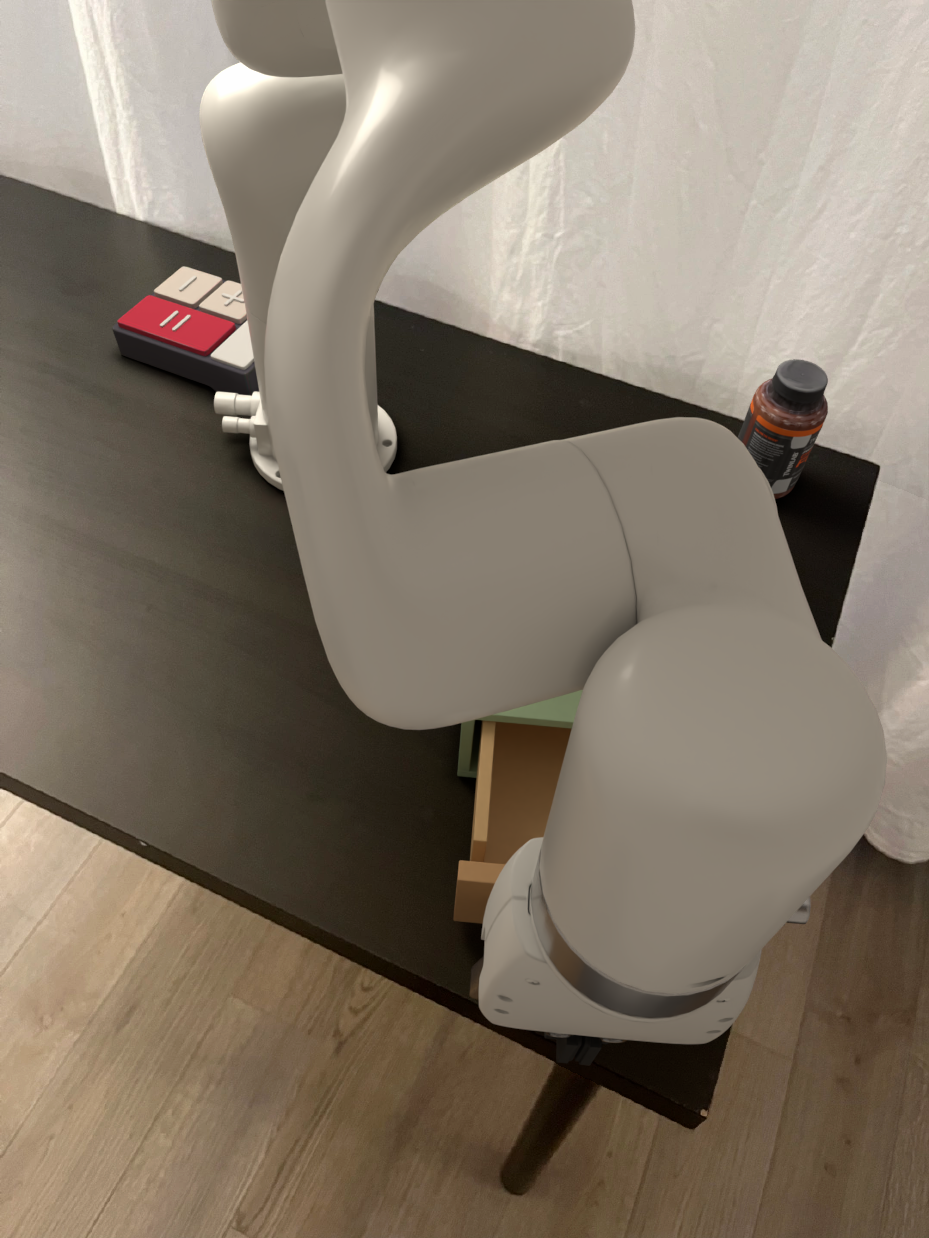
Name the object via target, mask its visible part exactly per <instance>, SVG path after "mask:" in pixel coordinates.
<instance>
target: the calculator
mask: <svg viewBox="0 0 929 1238" xmlns="http://www.w3.org/2000/svg"><path fill="white" fill-rule="evenodd" d="M111 328H112V332H113V335H114V339H115V341H116V344H117V347H118V350H119V352H120V355H121V356H124V357H127V358H129V359H132V360H134V361H138V362H141V363H143V364H146V365H149V366H152V367H155V368H158V369H159V370H163V371H165V372H169V373H171V374H174V375H177V376H180V377H183V378H186V379H188V380H191V381H194V382H197V383H200V384H202V385H205V386H208V387H210V388H211V389H212V390H213V391H215V393H216V392H229V393H238V394H239V395H249V396H252V394H253V392H254V391H256V392H259V387H258V381H257V375H256V369H255V363H254V357H253V351H252V345H251V339H250V333H249V327H248V321H247V315H246V309H245V303H244V299H243V293H242V287H241V283H239V282H236V281H233V280H224V279H223V278H222V277H220V276H218V275H214V274H210V273H207V272H204V271H201V270H197V269H194V268H191V267H189V266H181V267H180V268H179V269H178V270H176V271H175V272H174V273H173V274H171V276H169V277H167V279H165V280H164V281H163V282H162V283H161V284H159V285H158V286H157V287H156V288H155V289H154V290H153V292H152V293H151V294H148V295H146V296H145V297H144V298H142V299H141V300H140V301H139V302H138V303H136V304H135V305H134V306H133V307H132V308H130V309H129V310H128V311H127V312H126V313H124V314H123V315H122V316H121V317H119V318H118V319H117V320H116V323H115V324H114V325H113V326H112V327H111Z"/></svg>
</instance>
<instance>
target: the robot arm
mask: <svg viewBox="0 0 929 1238" xmlns="http://www.w3.org/2000/svg"><path fill="white" fill-rule="evenodd" d="M210 3H211V7H212V11H213V16H214V19H215V23H216V26H217V28H218V30H219V34H220V36H221V38H222V41H223V43H224V44H225V46H226V48H227V49H228V51H229V52H230V53H231V54H232V56H233V58H234V59H236V60H237V61H238V63H235V64H233V65H230V66H228V67H227V68H225V69H223V70H222V71H220V72H219V73H217V74H216V75H215V76H214V77H213V78H212V79H211V80H210V81H209V83H208V84H207V85H206V86H205V90H204V91H203V94H202V96H201V100H200V104H199V113H198V115H199V116H198V117H199V128H200V129H199V130H200V134H201V140H202V144H203V149H204V153H205V157H206V160H207V162H208V166H209V169H210V172H211V175H212V178H213V182H214V185H215V187H216V190H217V193H218V195H219V200H220V202H221V204H222V208H223V211H224V215H225V218H226V221H227V225H228V229H229V232H230V233H229V234H230V236H231V240H232V245H233V249H234V250H233V251H234V255H235V258H236V260H235V261H236V265H237V269H238V275H239V280H240V284H241V287H242V293H243V299H244V303H245V309H246V315H247V321H248V327H249V333H250V339H251V345H252V351H253V357H254V363H255V369H256V375H257V381H258V387H259V392H256V391H254V392H253V394H252V396H249V395H239V394H238V393H229V392H216V391H215V395H214V397H213V398H214V399H213V409H214V413H215V414H216V415H221V416H222V421H221V431H222V433H227V434H228V433H229V434H247V435H249V443H248V444H249V450H250V451H249V452H250V456H251V460H252V463H253V466H254V468H255V469H256V470H257V472H258V473H259V475H260V476H261V477H262V478H263V479H264V480H265V481H266V482H267V483H269V484H270V485H271V486H273V487H275V488H276V489H278V490H280V491H283V493H284V497H285V501H286V507H287V510H288V514H289V518H290V519H289V520H290V523H291V525H292V526H291V527H292V531H293V535H294V540H295V545H296V549H297V552H298V553H297V554H298V557H299V562H300V565H301V570H302V574H303V578H304V582H305V586H306V591H307V594H308V599H309V602H310V607H311V610H312V614H313V618H314V622H315V625H316V628H317V630H318V631H317V632H318V634H319V637H320V640H321V643H322V646H323V649H324V652H325V655H326V657H327V661H328V663H329V665H330V667H331V669H332V672H333V673H334V676H335V677H336V680H337V682H338V684H339V685H340V687H341V688H342V690H343V691H344V693H345V694H346V695H347V696H346V697H347V698H348V699H349V700H350V701H351V702H352V703H353V704H354V706H355V707H356V708H357V709H358V710H359V711H361V712H362V713H363V714H364V715H365V716H367V717H369V718H370V719H371V720H373V721H376V722H377V723H380V724H383V725H384V726H385V725H386V726H388V727H392V728H396V729H401V730H405V731H406V730H407V731H408V730H410V731H411V730H412V731H425V730H433V729H440V728H445V727H450V726H455V725H459V724H462V723H463V722H467V721H471V720H475V719H479V718H482V717H486V716H490V715H493V714H497V713H501V712H504V711H508V710H512V709H515V708H519V707H522V706H526V705H530V704H533V703H537V702H540V701H544V700H548V699H551V698H555V697H558V696H562V695H565V694H569V693H573V692H576V691H580V690H583V691H582V695H581V698H580V701H579V705H578V708H577V711H576V715H575V718H574V722H573V726H572V730H571V733H570V737H569V741H568V745H567V749H566V752H565V756H564V760H563V764H562V768H561V771H560V775H559V779H558V783H557V787H556V791H555V794H554V798H553V802H552V806H551V810H550V814H549V817H548V821H547V825H546V829H545V833H544V837H541V838H533V839H531V840H529V841H528V842H527V843H525V844H524V845H523V846H522V847H521V848H519V849H518V850H517V851H516V852H515V853H514V855H513V856H512V857H511V858H510V859H509V861H508V862H507V863H506V865H505V866H504V868H503V869H502V871H501V873H500V874H499V876H498V878H497V880H496V882H495V884H494V887H493V889H492V891H491V894H490V896H489V899H488V902H487V905H486V910H485V914H484V919H483V924H482V928H481V934H480V935H481V936H480V940H481V941H484V946H483V956H481V958H479V960H477V961H476V962H475V964H473V965H472V966H471V970H470V981H469V995H468V996H469V997H470V998H471V999H472V1000H473V999H474V1000H478V1008H479V1010H480V1012H481V1014H482V1015H483V1017H485V1019H487V1021H488V1022H490V1023H491V1024H493V1025H497V1026H500V1027H505V1028H510V1029H511V1028H512V1029H516V1030H517V1029H519V1030H526V1031H535V1032H543V1033H544V1034H543V1035H544V1039H547V1040H556V1057H555V1059H556V1063H558V1064H569V1062H571V1061H573V1060H574V1062H578V1065H580V1066H591V1065H592V1063H593V1062H594V1061H595V1059H596V1057H597V1055H598V1054H599V1052H600V1051H601V1050H602V1048H603V1045H609V1044H622V1043H625V1042H627V1041H636V1042H648V1043H658V1044H659V1043H661V1044H671V1045H703V1044H707V1043H710V1042H712V1041H714V1040H716V1039H718V1037H720V1036H721V1035H723V1034H724V1033H725V1032H726V1031H728V1030H729V1028H730V1027H731V1026H733V1024H734V1023H735V1022H736V1020H737V1019H738V1018H739V1016H740V1015H741V1013H742V1012H743V1010H744V1009H745V1007H746V1005H747V1003H748V1002H749V999H750V996H751V994H752V991H753V988H754V985H755V982H756V978H757V974H758V970H759V966H760V962H761V959H762V958H761V957H762V952H763V951H762V950H763V948H764V947H765V946H767V944H768V943H769V942H770V941H771V940H772V939H773V937H774V936H775V935H776V934H777V933H778V932H779V931H780V930H781V929H782V928H783V927H784V926H785V925H786V924H794V925H795V924H796V925H806V924H807V923H808V921H809V919H810V916H811V907H812V906H811V903H812V902H811V896H812V895H813V894H814V893H815V892H816V890H817V889H818V888H820V887H821V885H822V884H823V883H824V882H825V880H826V879H827V878H828V877H829V876H830V875H831V874H832V873H833V872H834V871H835V870H836V869H837V867H838V866H839V865H840V864H841V863H842V862H843V861H844V860H845V859H846V858H847V857H848V855H849V854H851V852H852V851H853V850H854V848H855V846H856V845H857V844H858V842H859V841H860V840H861V839H862V837H863V836H864V835H865V833H866V831H867V830H868V828H869V827H870V826H871V824H872V822H873V820H874V819H875V816H876V814H877V812H878V809H879V806H880V802H881V799H882V796H883V792H884V788H885V785H886V778H887V776H886V775H887V764H888V763H887V762H888V760H887V759H888V758H887V756H888V755H887V748H886V740H885V732H884V728H883V724H882V721H881V718H880V716H879V712H878V710H877V708H876V706H875V704H874V702H873V700H872V699H871V697H870V694H869V693H868V691H867V689H866V687H865V685H864V684H863V682H862V681H861V679H860V678H859V676H857V674H856V673H855V671H854V670H853V669H852V668H851V666H850V665H849V664H848V662H846V661H845V660H844V659H843V658H842V657H841V655H839V653H837V652H836V651H835V650H834V648H832V647H831V646H830V645H828V644H827V643H826V642H825V641H823V639H822V637H821V635H820V632H819V629H818V626H817V624H816V621H815V619H814V616H813V613H812V611H811V608H810V605H809V602H808V600H807V597H806V593H805V592H804V589H803V587H802V584H801V580H800V577H799V574H798V571H797V569H796V565H795V563H794V559H793V556H792V553H791V550H790V546H789V544H788V541H787V538H786V535H785V532H784V528H783V527H782V523H781V520H780V517H779V513H778V506H777V503H776V499H775V498H774V494H773V492H772V489H771V487H770V484H769V482H768V480H767V479H766V477H765V475H764V474H763V472H762V470H761V469H760V468H759V467H758V466H757V464H756V462H755V460H754V459H753V457H752V456H751V454H750V453H749V451H748V450H747V448H746V447H745V445H744V444H743V443H742V442H741V441H740V440H739V439H738V436H736V435H735V433H734V432H732V431H731V430H730V429H728V428H727V427H725V426H724V425H722V424H720V423H717V422H716V421H712V420H710V419H707V418H702V417H686V416H685V417H684V416H675V417H667V418H660V419H653V420H648V421H644V422H639V423H638V422H637V423H634V424H629V425H624V426H619V427H614V428H610V429H606V430H601V431H596V432H592V433H586V434H583V435H578V436H577V435H576V436H573V437H568V438H564V439H553V440H548V441H544V442H543V441H542V442H538V443H534V444H529V445H525V446H524V445H523V446H519V447H514V448H509V449H506V450H501V451H495V452H492V453H486V454H482V455H476V456H473V457H467V458H463V459H459V460H452V461H448V462H443V463H438V464H434V465H429V466H424V467H419V468H415V469H410V470H408V471H403V472H399V473H395V474H390V473H387V472H388V471H389V470H390V469H391V467H392V464H393V462H394V460H395V459H396V455H397V450H398V436H397V429H396V426H395V424H394V422H393V419H392V418H391V416H390V415H389V413H387V412H386V410H385V409H384V408H383V407H381V406H380V405H379V404H378V381H377V356H376V355H377V354H376V329H375V326H376V325H375V300H376V297H377V294H378V292H379V290H380V288H381V285H382V283H383V281H384V279H385V277H386V275H387V273H388V271H389V270H390V268H391V266H393V264H394V262H395V260H396V259H397V258H398V256H399V255H400V254H401V253H402V252H403V251H404V249H405V248H406V247H407V246H409V244H411V242H412V241H413V240H414V239H416V237H417V236H418V235H419V234H420V233H422V232H423V231H424V230H425V229H427V228H428V227H429V226H430V225H431V224H433V223H434V222H435V221H436V220H438V218H440V217H441V216H443V215H444V214H445V213H447V212H448V211H449V210H451V209H452V208H454V207H456V206H457V205H458V204H460V203H461V202H463V201H464V200H466V199H467V198H468V197H470V196H472V195H473V194H475V193H477V192H478V191H480V190H482V189H483V188H484V187H486V186H488V185H489V184H491V183H493V182H494V181H496V180H498V179H499V178H500V177H502V176H504V175H506V174H507V173H509V172H510V171H512V170H514V169H516V168H518V167H519V166H521V165H522V164H524V163H526V162H528V161H529V160H531V159H532V158H534V157H536V156H537V155H539V154H540V153H543V151H545V150H546V149H547V148H548V149H549V147H551V146H552V145H554V144H555V143H556V142H558V141H559V140H561V139H562V138H563V137H565V136H566V135H568V134H570V132H572V131H573V130H575V129H577V127H578V126H580V125H581V124H583V123H584V122H585V121H586V120H587V119H588V118H589V117H590V116H592V114H594V113H595V112H596V110H597V109H599V107H601V105H602V104H603V103H604V102H605V101H606V100H607V99H608V98H609V97H610V96H611V94H612V93H614V90H615V89H616V88H617V86H618V85H619V84H620V82H621V81H622V78H623V77H624V75H625V73H626V71H627V68H628V66H629V64H630V61H631V59H632V56H633V51H634V48H635V47H634V46H635V39H636V21H635V10H634V5H633V0H210ZM238 416H247V417H250V418H243V417H242V418H241V417H238Z"/></svg>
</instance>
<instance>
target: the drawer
mask: <svg viewBox="0 0 929 1238" xmlns="http://www.w3.org/2000/svg"><path fill="white" fill-rule="evenodd" d="M571 730H572V729H571V728H560V727H549V726H538V725H528V724H517V723H506V722H495V721H485V720H481V730H480V742H479V754H478V766H477V778H475V779H476V780H475V791H474V792H475V793H474V805H473V817H472V826H471V827H472V830H471V842H470V853H469V860H463V859H462V860H461V859H460V860H459V861H458V869H457V879H456V886H455V887H456V888H455V898H454V908H453V921H454V922H463V923H473V924H482V925H483V919H484V914H485V910H486V905H487V902H488V899H489V896H490V894H491V891H492V889H493V887H494V884H495V882H496V880H497V878H498V876H499V874H500V873H501V871H502V869H503V868H504V866H505V865H506V863H507V862H508V861H509V859H510V858H511V857H512V856H513V855H514V853H515V852H516V851H517V850H518V849H519V848H521V847H522V846H523V845H524V844H525V843H527V842H528V841H529V840H531V839H533V838H541V837H544V833H545V829H546V825H547V821H548V817H549V814H550V810H551V806H552V802H553V798H554V794H555V791H556V787H557V783H558V779H559V775H560V771H561V768H562V764H563V760H564V756H565V752H566V749H567V745H568V741H569V737H570V733H571Z"/></svg>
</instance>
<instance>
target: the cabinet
mask: <svg viewBox="0 0 929 1238" xmlns="http://www.w3.org/2000/svg"><path fill="white" fill-rule="evenodd" d="M582 691H583V690H580V691H576V692H573V693H569V694H565V695H562V696H558V697H555V698H551V699H548V700H544V701H540V702H537V703H533V704H530V705H526V706H522V707H519V708H515V709H512V710H508V711H504V712H501V713H497V714H493V715H490V716H486V717H482V718H479V719H475V720H471V721H467V722H463V723H460V724H461V725H460V735H459V736H460V737H459V749H458V750H459V751H458V761H457V762H458V763H457V773H456V775H457V777H463V778H474V779H477V766H478V754H479V742H480V730H481V720H485V721H495V722H506V723H517V724H528V725H538V726H549V727H560V728H571V729H572V726H573V722H574V718H575V715H576V711H577V708H578V705H579V701H580V698H581V695H582Z"/></svg>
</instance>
